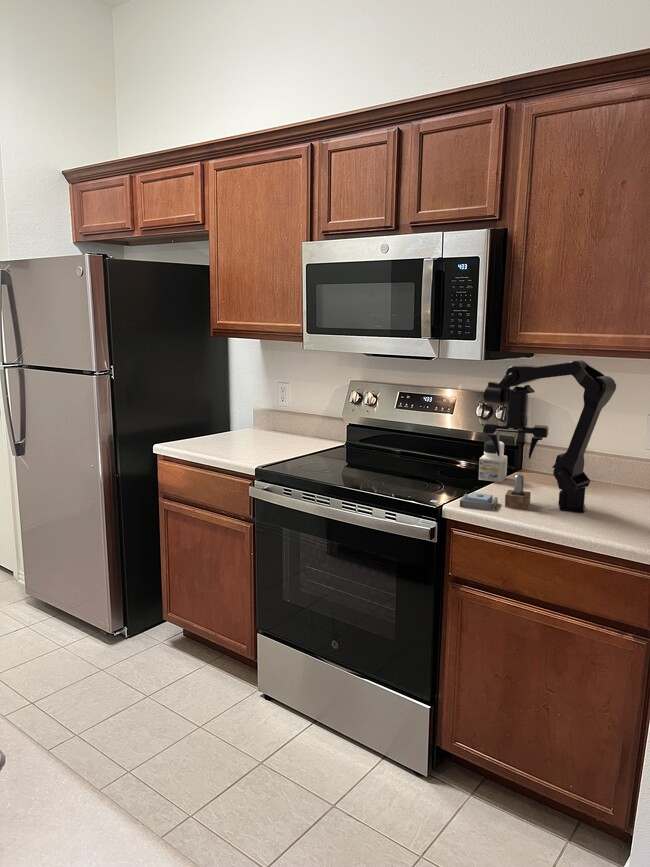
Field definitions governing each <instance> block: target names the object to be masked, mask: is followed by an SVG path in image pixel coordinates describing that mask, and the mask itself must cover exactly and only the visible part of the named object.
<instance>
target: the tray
mask: <svg viewBox="0 0 650 867" xmlns="http://www.w3.org/2000/svg"><path fill="white" fill-rule="evenodd" d="M467 496H469V494H468V493H465V494H463V496H462V497H461V498H460V499H459V507H461V506H463V507H462V508H469V507H470V508H471V509H478V508H480V510H486V509H488V510H487V511H489V510H490V511H494V510H495V508H496V506H497V505H498V503H499V502H498V501H499V500H498V499H499V498H498V497H497V496H494V497H493V501H492V502H491V503H485V502H476V501H467ZM493 509H494V510H493Z"/></svg>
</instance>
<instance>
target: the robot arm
mask: <svg viewBox="0 0 650 867" xmlns="http://www.w3.org/2000/svg"><path fill="white" fill-rule="evenodd" d="M564 376H573V377H574V379H575V381H576V382H577V383H578V385H579V386H581V387H582V388H583V389H584V391H583V398H582V399H583V408H582V410H581V413H580V415H579V419H578V421H577V423H576V426H575V428H574V431H573V434H572V437H571V439H570V443H569V445H568V447H567V450H566V452H564V453H561V454H557V455H556V458H555V463H554V465H552V469H553V472H552V473H553V476H554V478H555V480H556V483H557V487H558V489H559V493H558V507H559V510H560V511H567V512H568V511H569V512H577V513H584V512H585V506H586V504H585V502H586V501H585V500H586V499H585V498H586V488H588V487H589V486H590V483H591V479H590V478H589V477H588V476H587V474H586V473H585V472H584V468H585V453H586V449H587V447H588V444H589V442H590V440H591V437H592V434H593V432H594V430H595V426H596V424H597V422H598V419H599V416H600V414H601V412H602V410H603V409H604V407H605V406H607V404H608V403H609V402H610V400H611V399H612V397H613V395H614V394H615V392H616V389H617V383H616V381H615V380H614V379H613V378H612V377H611V376H608V375H605V374H604V373H603V372H601V371H599V370H597V369H596V368H594V367H593V366H590V365H589V364H588V363H587V362H586V361H584V360H580V359H578V360H572V361H569V362H564V363H563V362H562V363H556V364H554V363H553V364H547V365H529V364H528V365H527V364H522V365H521V364H520V365H512V366H509V367H508V368H507V369H506V372H505V375H504V376H503V378H502V380H501V381H500V382H495V381H489V382H487V386H486V388H484V389H485V390H484V392H483V401H484V402H485V403H486V404H489V405H490V404H491V405H499V406H505V405H506V404H507V405H506V411H504V416H503V421H504V423H505V424H506V425H501V424H500V422H497V421H496V422H495V421H487V422H486V423H484V424H483V427H482V429H483V430H482V433H483V434H486V435H487V437H489V438H490V439H491V440H492V441H493V443H494V446H495V449H496V452H497V455H498V456H500V435H501V434H500V433H501V432H505V433H519V434H532V437H531V440H530V446H529V451H528V459H529V460H531V457H532V455H533V453H534V450H535V448H536V446H537V443H538V442H539V441H543V439H544V438H545V439H546V438H548V436H549V427H548V425H541V424H540V425H538V424H535V425H534V426H533V427H529V426H528V415H527V409H528V407H527V406H528V395H529V394H533V393H534V394H535V390H534V388H533V387H531V385H530V384H529V383H533V382H535V381H538V380H540V379H549V378H557V377H564ZM520 385H524V386H520ZM512 387H513V388H512ZM527 426H528V427H527Z"/></svg>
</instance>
